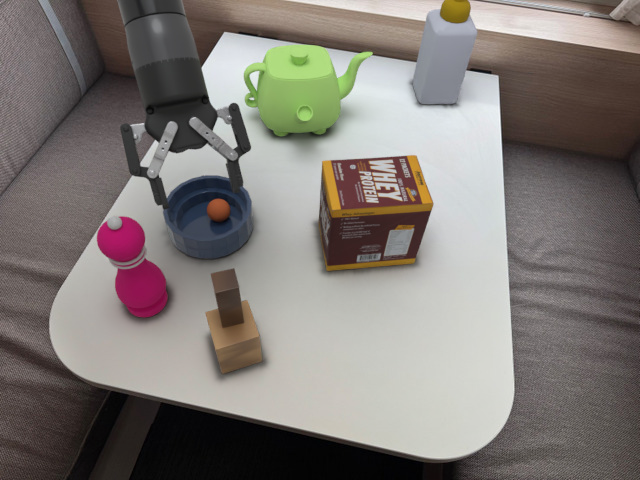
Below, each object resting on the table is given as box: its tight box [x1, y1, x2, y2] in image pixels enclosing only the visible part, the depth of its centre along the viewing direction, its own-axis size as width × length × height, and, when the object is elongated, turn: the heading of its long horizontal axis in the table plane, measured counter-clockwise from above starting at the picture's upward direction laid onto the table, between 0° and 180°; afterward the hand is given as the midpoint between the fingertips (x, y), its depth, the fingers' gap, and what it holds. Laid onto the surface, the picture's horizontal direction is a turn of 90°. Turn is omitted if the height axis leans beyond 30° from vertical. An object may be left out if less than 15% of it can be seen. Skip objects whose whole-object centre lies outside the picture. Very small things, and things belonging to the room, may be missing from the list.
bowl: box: [162, 174, 254, 260], centre depth 89 cm, size 14×14×6 cm
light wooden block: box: [204, 299, 263, 375], centre depth 74 cm, size 6×6×8 cm
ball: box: [207, 199, 230, 222], centre depth 90 cm, size 4×4×4 cm
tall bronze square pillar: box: [210, 267, 244, 328], centre depth 68 cm, size 3×3×9 cm
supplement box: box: [317, 154, 435, 272], centre depth 84 cm, size 10×15×16 cm
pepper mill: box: [96, 215, 168, 318], centre depth 73 cm, size 7×7×20 cm
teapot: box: [243, 44, 374, 137], centre depth 102 cm, size 25×22×16 cm
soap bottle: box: [411, 0, 478, 105], centre depth 107 cm, size 9×9×25 cm
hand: (202, 200), depth 63 cm, fingers open, 8 cm apart
